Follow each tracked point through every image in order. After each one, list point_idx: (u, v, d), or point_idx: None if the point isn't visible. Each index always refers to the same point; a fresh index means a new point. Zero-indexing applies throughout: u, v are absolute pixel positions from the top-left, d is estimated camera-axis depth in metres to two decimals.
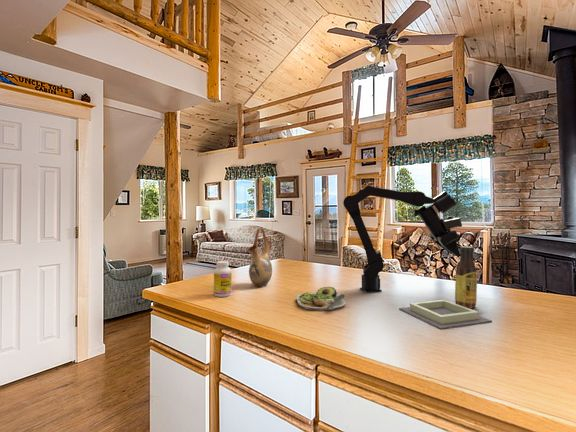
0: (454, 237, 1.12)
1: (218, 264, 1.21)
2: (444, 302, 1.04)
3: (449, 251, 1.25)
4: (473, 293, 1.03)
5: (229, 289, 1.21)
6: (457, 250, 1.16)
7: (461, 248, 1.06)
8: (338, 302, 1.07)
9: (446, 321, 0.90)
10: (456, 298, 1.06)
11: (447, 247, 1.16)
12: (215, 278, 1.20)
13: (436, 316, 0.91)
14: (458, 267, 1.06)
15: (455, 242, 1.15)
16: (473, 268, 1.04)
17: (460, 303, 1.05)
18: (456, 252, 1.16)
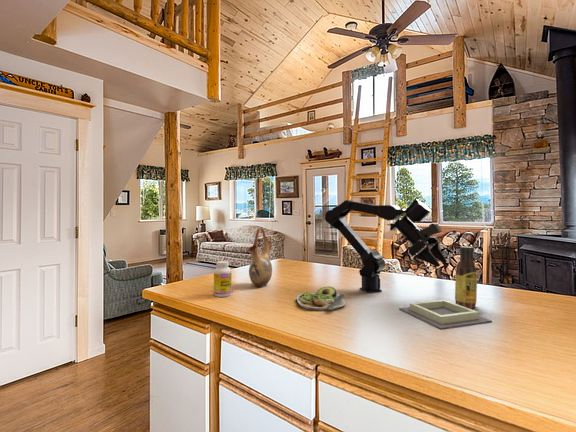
0: (420, 246, 1.06)
1: (218, 264, 1.21)
2: (444, 302, 1.04)
3: (442, 260, 1.15)
4: (473, 293, 1.03)
5: (229, 289, 1.21)
6: (434, 259, 1.07)
7: (461, 248, 1.06)
8: (338, 302, 1.07)
9: (446, 321, 0.90)
10: (456, 298, 1.06)
11: (421, 258, 1.09)
12: (215, 278, 1.20)
13: (436, 316, 0.91)
14: (458, 267, 1.06)
15: (427, 251, 1.07)
16: (473, 268, 1.04)
17: (460, 303, 1.05)
18: (433, 261, 1.08)
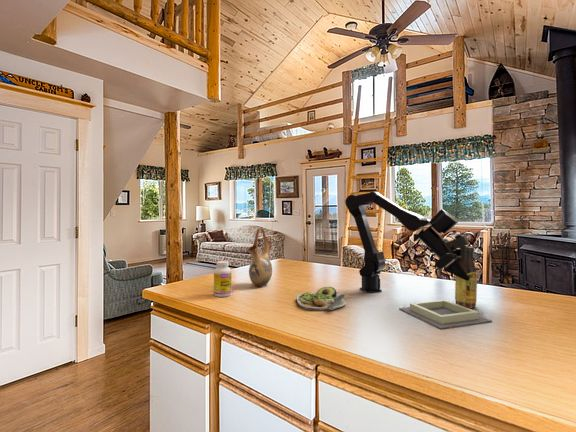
0: (448, 260, 1.01)
1: (218, 264, 1.21)
2: (444, 302, 1.04)
3: None
4: (473, 293, 1.03)
5: (229, 289, 1.21)
6: (463, 273, 1.03)
7: (461, 248, 1.06)
8: (338, 302, 1.07)
9: (446, 321, 0.90)
10: (456, 298, 1.06)
11: (449, 271, 1.05)
12: (215, 278, 1.20)
13: (436, 316, 0.91)
14: None
15: (457, 264, 1.03)
16: (473, 268, 1.04)
17: (460, 303, 1.05)
18: (462, 275, 1.03)
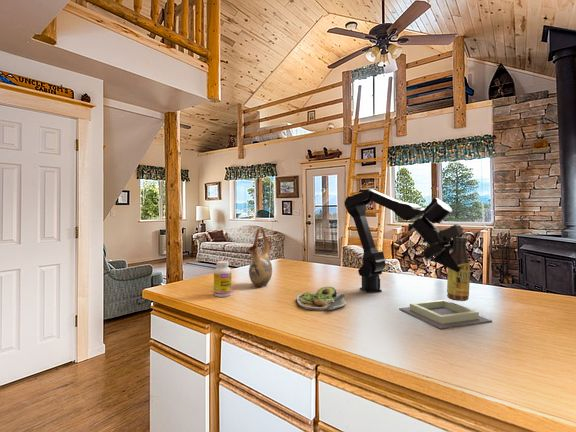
0: (435, 250, 0.98)
1: (218, 264, 1.21)
2: (444, 302, 1.04)
3: None
4: (464, 285, 0.99)
5: (229, 289, 1.21)
6: (453, 264, 0.99)
7: (453, 238, 1.02)
8: (338, 302, 1.07)
9: (446, 321, 0.90)
10: (447, 290, 1.02)
11: (439, 261, 1.01)
12: (215, 278, 1.20)
13: (436, 316, 0.91)
14: None
15: (446, 255, 0.99)
16: (465, 259, 0.99)
17: (450, 295, 1.01)
18: (452, 266, 0.99)
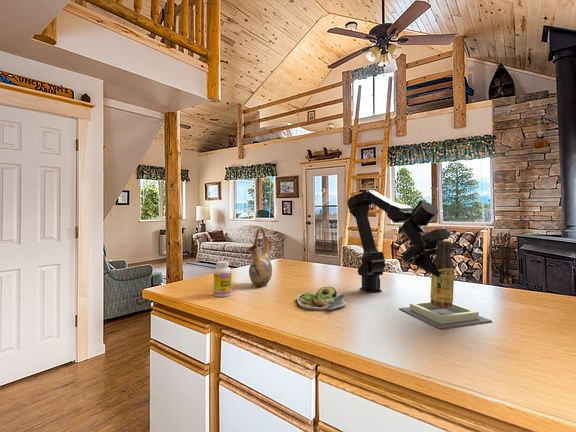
0: (412, 253, 0.96)
1: (218, 264, 1.21)
2: None
3: None
4: (445, 291, 0.95)
5: (229, 289, 1.21)
6: (433, 268, 0.96)
7: None
8: (338, 302, 1.07)
9: (446, 321, 0.90)
10: None
11: (420, 265, 0.98)
12: (215, 278, 1.20)
13: (436, 316, 0.91)
14: (433, 262, 0.98)
15: (426, 258, 0.96)
16: (446, 264, 0.95)
17: (432, 301, 0.97)
18: (432, 271, 0.96)
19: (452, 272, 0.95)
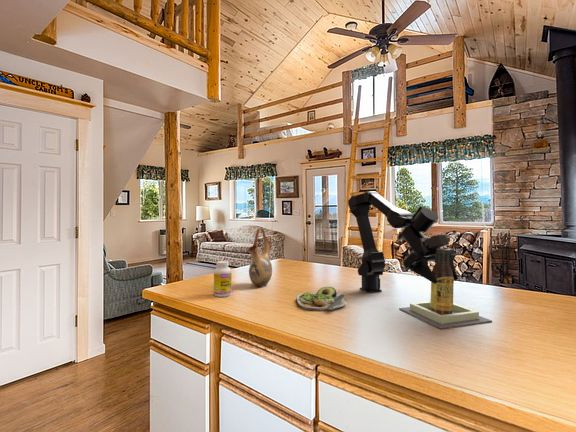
0: (412, 259, 0.96)
1: (218, 264, 1.21)
2: None
3: None
4: (445, 299, 0.95)
5: (229, 289, 1.21)
6: (431, 275, 0.95)
7: (436, 250, 0.98)
8: (338, 302, 1.07)
9: (446, 321, 0.90)
10: (430, 304, 0.99)
11: (417, 272, 0.98)
12: (215, 278, 1.20)
13: (436, 316, 0.91)
14: (432, 271, 0.98)
15: (423, 265, 0.96)
16: (446, 273, 0.95)
17: (432, 309, 0.97)
18: (429, 277, 0.95)
19: (452, 280, 0.95)
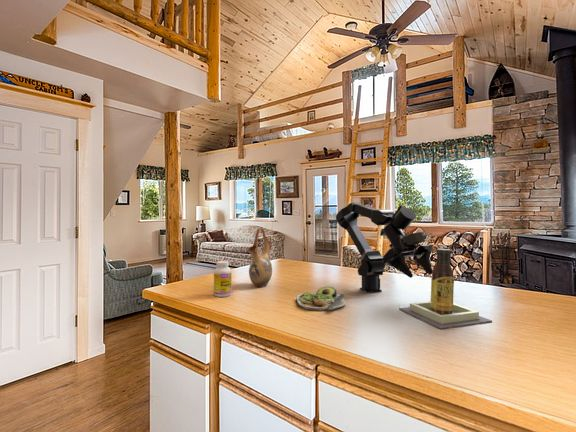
0: (390, 255, 1.04)
1: (218, 264, 1.21)
2: None
3: (428, 271, 1.08)
4: (445, 299, 0.95)
5: (229, 289, 1.21)
6: (407, 269, 1.03)
7: (436, 250, 0.98)
8: (338, 302, 1.07)
9: (446, 321, 0.90)
10: (430, 304, 0.99)
11: (395, 266, 1.06)
12: (215, 278, 1.20)
13: (436, 316, 0.91)
14: (432, 271, 0.98)
15: (400, 260, 1.04)
16: (446, 273, 0.95)
17: (432, 309, 0.97)
18: (406, 272, 1.04)
19: (452, 280, 0.95)
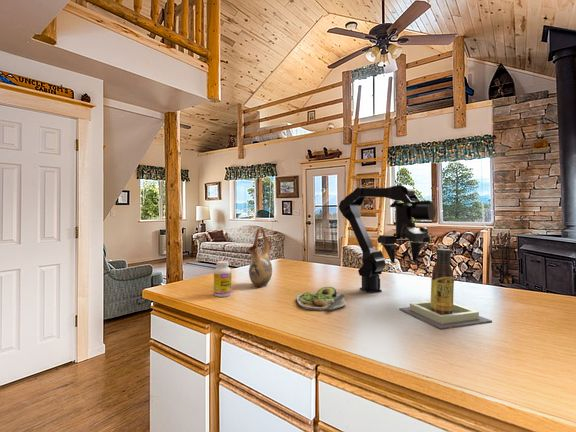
0: (384, 242, 1.12)
1: (218, 264, 1.21)
2: None
3: (413, 258, 1.18)
4: (445, 299, 0.95)
5: (229, 289, 1.21)
6: (392, 256, 1.15)
7: (436, 250, 0.98)
8: (338, 302, 1.07)
9: (446, 321, 0.90)
10: (430, 304, 0.99)
11: (385, 247, 1.17)
12: (215, 278, 1.20)
13: (436, 316, 0.91)
14: (432, 271, 0.98)
15: (390, 248, 1.13)
16: (446, 273, 0.95)
17: (432, 309, 0.97)
18: (390, 257, 1.15)
19: (452, 280, 0.95)
